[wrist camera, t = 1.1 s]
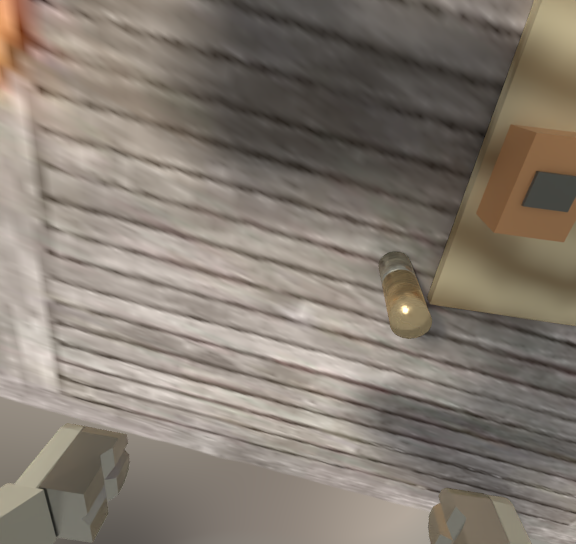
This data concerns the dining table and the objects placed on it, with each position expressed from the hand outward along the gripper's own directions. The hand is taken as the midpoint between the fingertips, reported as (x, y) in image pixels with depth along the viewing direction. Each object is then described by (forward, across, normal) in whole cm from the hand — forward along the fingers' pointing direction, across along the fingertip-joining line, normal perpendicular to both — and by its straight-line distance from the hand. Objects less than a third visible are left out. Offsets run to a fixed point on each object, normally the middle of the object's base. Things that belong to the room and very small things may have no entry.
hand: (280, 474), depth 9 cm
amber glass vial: (+26, -9, +4) cm, 28 cm away
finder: (+24, -16, -6) cm, 29 cm away
